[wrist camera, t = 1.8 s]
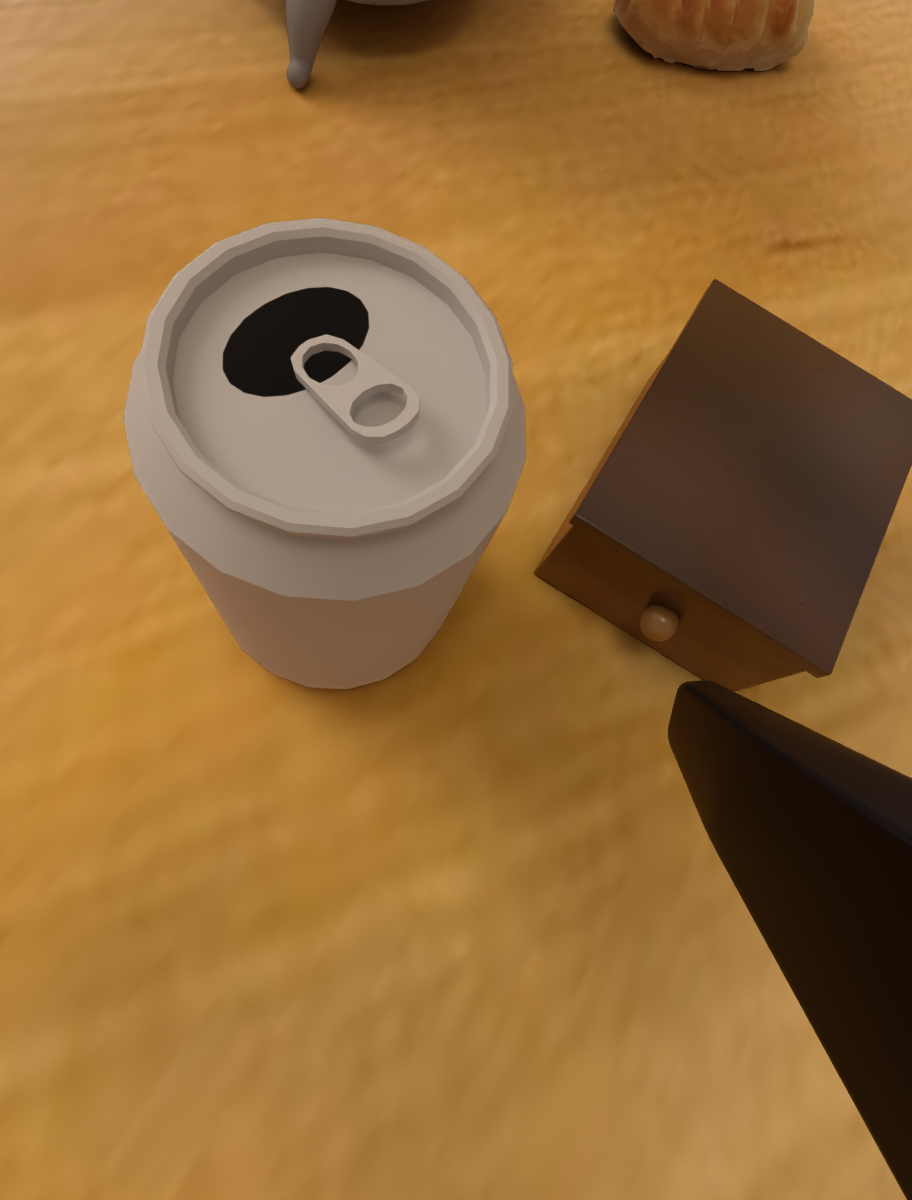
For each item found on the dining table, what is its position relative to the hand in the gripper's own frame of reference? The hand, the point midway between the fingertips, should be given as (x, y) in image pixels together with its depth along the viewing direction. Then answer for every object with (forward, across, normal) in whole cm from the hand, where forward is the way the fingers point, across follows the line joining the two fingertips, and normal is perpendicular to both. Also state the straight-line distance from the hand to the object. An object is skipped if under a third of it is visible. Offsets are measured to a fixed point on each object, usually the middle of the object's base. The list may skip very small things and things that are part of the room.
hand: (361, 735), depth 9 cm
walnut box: (+14, -13, +4) cm, 20 cm away
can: (+14, 0, +5) cm, 14 cm away
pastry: (+33, -20, -15) cm, 42 cm away
